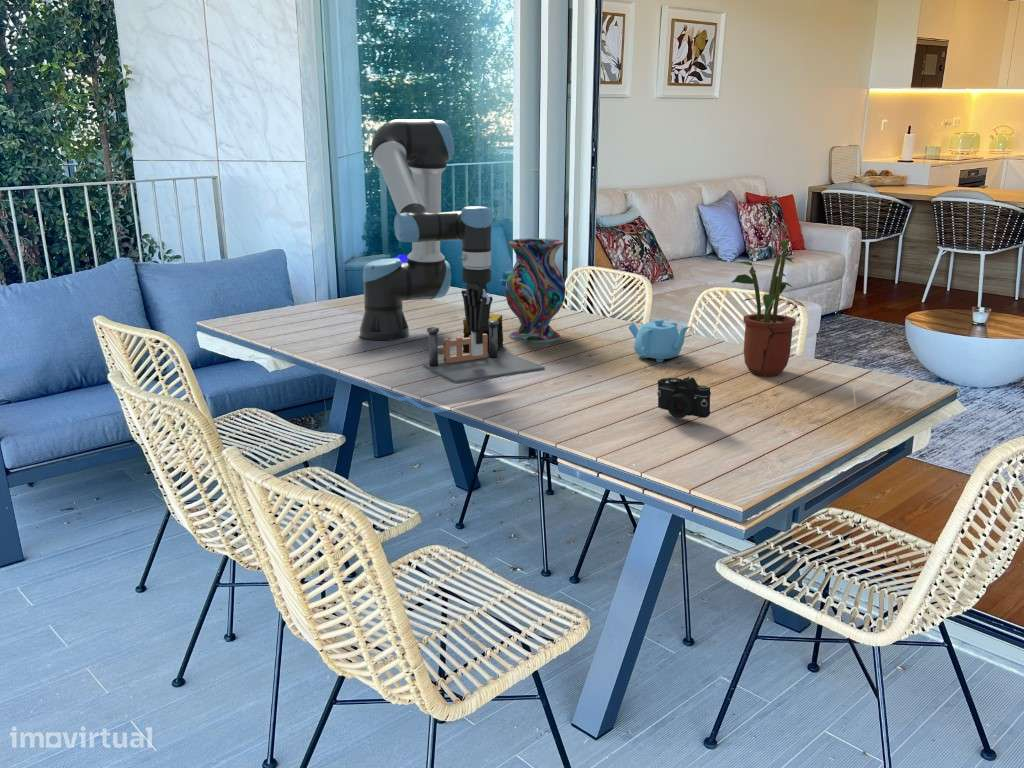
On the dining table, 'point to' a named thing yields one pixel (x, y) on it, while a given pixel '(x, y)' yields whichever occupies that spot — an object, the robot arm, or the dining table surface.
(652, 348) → the teapot
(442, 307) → the dining table surface
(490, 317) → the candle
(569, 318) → the dining table surface
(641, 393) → the dining table surface
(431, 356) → the latch post
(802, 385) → the dining table surface
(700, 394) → the film camera
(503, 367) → the mat
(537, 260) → the vase
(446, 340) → the gate
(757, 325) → the potted plant
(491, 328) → the glossy grey waisted cylinder
